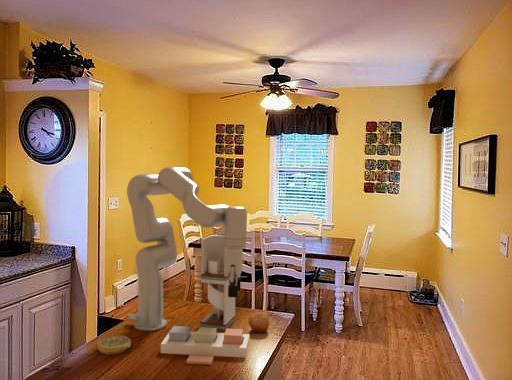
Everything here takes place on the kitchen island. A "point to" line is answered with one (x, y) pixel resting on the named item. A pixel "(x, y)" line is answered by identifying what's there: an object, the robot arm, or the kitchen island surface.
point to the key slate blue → (179, 333)
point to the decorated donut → (114, 345)
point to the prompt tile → (200, 359)
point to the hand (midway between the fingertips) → (234, 293)
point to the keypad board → (206, 347)
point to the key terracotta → (233, 336)
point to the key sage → (206, 335)
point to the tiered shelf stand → (216, 283)
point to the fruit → (259, 322)
